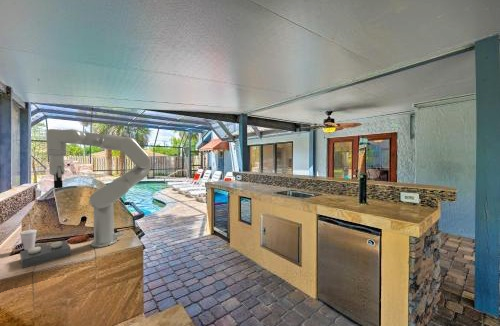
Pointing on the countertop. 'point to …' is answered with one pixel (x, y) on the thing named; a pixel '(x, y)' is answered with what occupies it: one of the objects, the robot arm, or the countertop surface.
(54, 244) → the knob
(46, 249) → the housing
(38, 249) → the knob
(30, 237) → the smoothie
